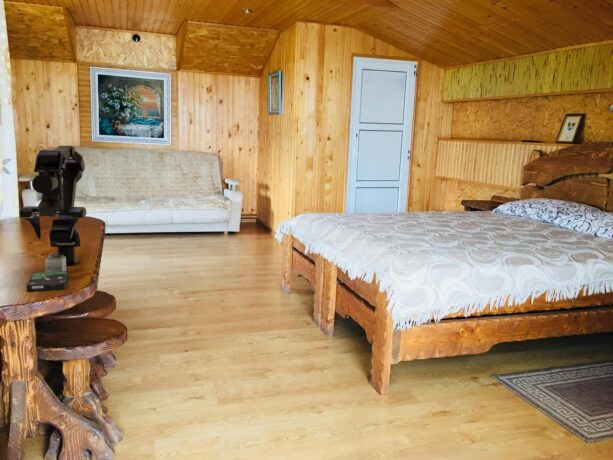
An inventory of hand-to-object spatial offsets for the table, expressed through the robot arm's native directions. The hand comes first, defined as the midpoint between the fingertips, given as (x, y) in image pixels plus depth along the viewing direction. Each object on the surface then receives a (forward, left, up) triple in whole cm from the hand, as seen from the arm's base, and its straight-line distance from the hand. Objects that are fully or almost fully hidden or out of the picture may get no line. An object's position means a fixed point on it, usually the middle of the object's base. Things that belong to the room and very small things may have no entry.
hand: (54, 238), depth 174 cm
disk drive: (+14, +2, -12) cm, 19 cm away
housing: (0, 0, -11) cm, 11 cm away
